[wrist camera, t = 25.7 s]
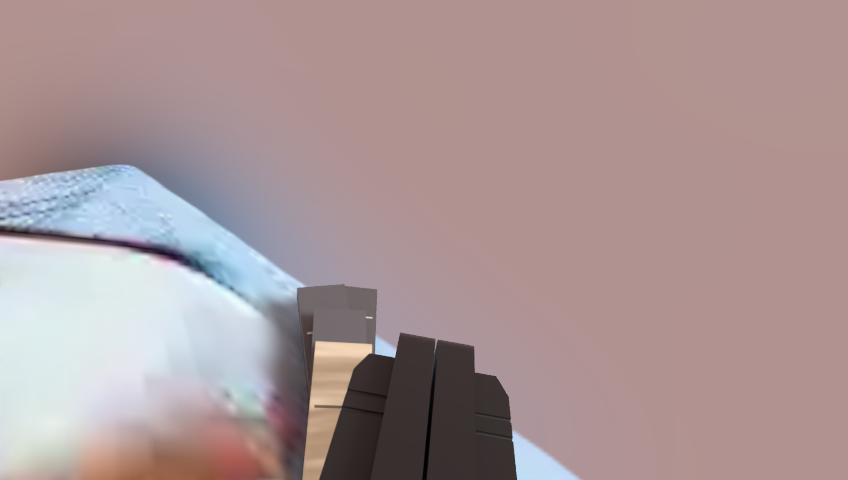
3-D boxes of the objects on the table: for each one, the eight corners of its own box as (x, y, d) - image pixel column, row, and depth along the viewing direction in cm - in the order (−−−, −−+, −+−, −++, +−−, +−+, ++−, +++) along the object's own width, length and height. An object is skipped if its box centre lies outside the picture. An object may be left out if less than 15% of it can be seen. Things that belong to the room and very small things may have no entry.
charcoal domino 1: (364, 380, 48) (344, 284, 56) (309, 387, 46) (297, 287, 54) (362, 390, 49) (343, 295, 57) (308, 398, 47) (297, 299, 56)
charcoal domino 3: (374, 352, 52) (377, 289, 63) (325, 348, 52) (335, 285, 62) (372, 366, 53) (375, 301, 64) (323, 362, 52) (334, 297, 63)
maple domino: (370, 485, 38) (372, 344, 46) (301, 485, 37) (315, 341, 45) (367, 493, 40) (369, 354, 48) (301, 493, 39) (314, 351, 47)
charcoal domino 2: (367, 430, 43) (365, 310, 51) (306, 430, 42) (314, 308, 50) (365, 438, 44) (363, 320, 52) (305, 439, 43) (313, 318, 51)
